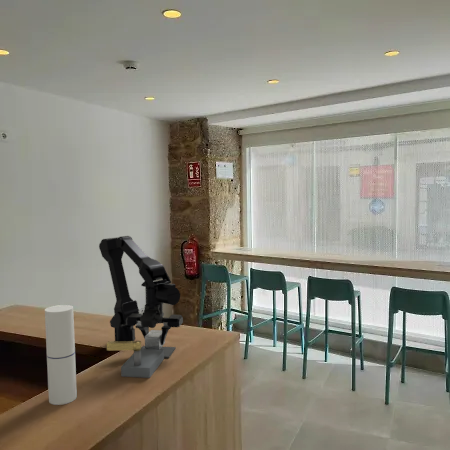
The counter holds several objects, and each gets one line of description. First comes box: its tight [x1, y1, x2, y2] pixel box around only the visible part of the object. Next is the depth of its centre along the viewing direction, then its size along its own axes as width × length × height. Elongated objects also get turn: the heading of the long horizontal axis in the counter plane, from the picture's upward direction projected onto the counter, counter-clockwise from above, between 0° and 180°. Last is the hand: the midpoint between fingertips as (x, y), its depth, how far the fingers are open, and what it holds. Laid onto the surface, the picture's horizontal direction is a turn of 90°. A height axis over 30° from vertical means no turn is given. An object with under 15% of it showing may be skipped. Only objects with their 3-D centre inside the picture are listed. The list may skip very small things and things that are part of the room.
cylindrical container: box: [44, 304, 78, 406], centre depth 119 cm, size 7×7×25 cm
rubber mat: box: [141, 345, 176, 359], centre depth 153 cm, size 12×9×1 cm
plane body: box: [120, 349, 165, 379], centre depth 140 cm, size 9×15×8 cm, turn 172°
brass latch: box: [106, 340, 142, 352], centre depth 134 cm, size 3×10×2 cm, turn 89°
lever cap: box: [144, 329, 166, 350], centre depth 152 cm, size 5×7×4 cm
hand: (155, 344), depth 152 cm, fingers closed on lever cap, 5 cm apart
